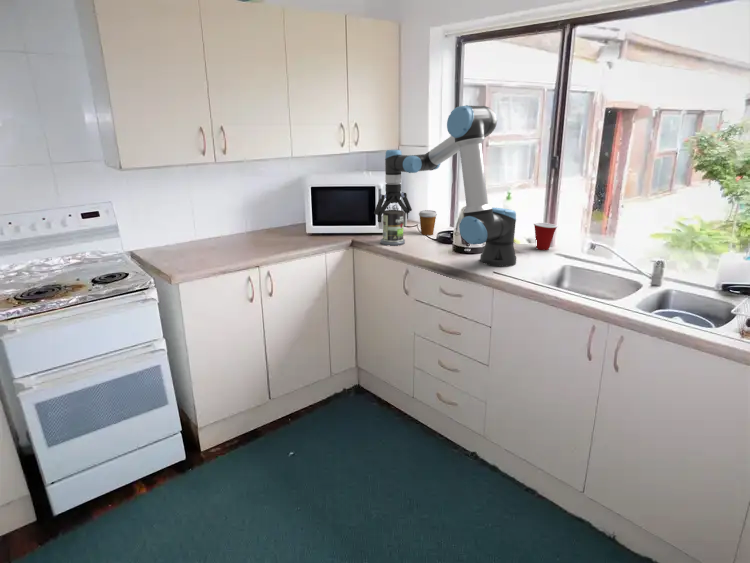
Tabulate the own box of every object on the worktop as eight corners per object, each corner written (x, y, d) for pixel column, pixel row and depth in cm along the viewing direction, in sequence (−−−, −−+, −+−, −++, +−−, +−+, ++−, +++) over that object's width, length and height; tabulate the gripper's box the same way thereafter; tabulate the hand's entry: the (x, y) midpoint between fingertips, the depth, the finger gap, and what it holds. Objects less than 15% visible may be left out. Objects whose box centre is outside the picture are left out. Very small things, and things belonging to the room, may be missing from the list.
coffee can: (407, 239, 249) (408, 211, 244) (395, 243, 241) (395, 214, 237) (390, 236, 255) (390, 208, 250) (378, 240, 247) (378, 211, 242)
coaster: (409, 243, 246) (409, 240, 246) (388, 247, 240) (388, 244, 240) (396, 238, 256) (396, 236, 255) (375, 241, 250) (375, 238, 250)
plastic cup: (559, 250, 234) (562, 225, 231) (540, 252, 231) (542, 226, 227) (545, 245, 244) (548, 220, 240) (526, 246, 241) (528, 222, 237)
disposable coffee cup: (421, 236, 261) (422, 213, 257) (415, 232, 270) (416, 210, 266) (438, 235, 263) (439, 212, 259) (432, 231, 272) (433, 209, 268)
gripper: (410, 180, 248) (410, 223, 254) (366, 184, 236) (367, 228, 243) (419, 182, 242) (418, 225, 248) (374, 186, 230) (374, 231, 236)
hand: (393, 227), depth 246 cm, fingers open, 13 cm apart
